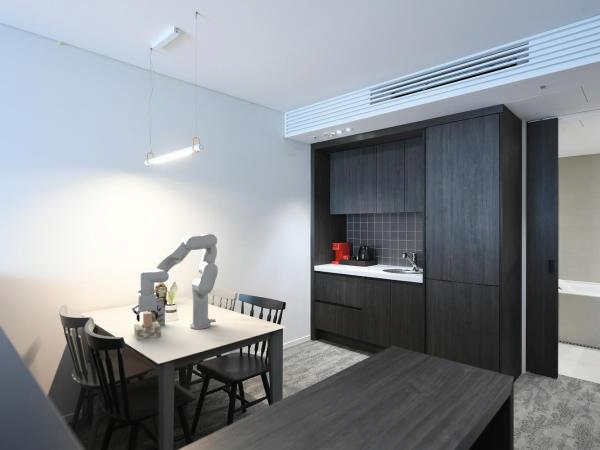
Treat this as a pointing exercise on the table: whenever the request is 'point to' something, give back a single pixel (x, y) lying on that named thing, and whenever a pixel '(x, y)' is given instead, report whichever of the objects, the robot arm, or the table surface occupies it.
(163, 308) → the coffee box
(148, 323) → the terracotta peg
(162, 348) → the table surface
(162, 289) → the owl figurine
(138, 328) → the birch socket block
